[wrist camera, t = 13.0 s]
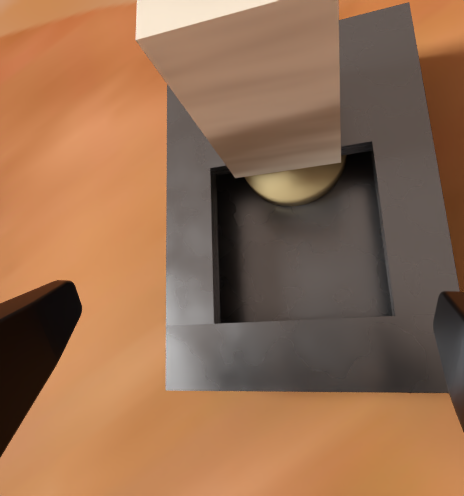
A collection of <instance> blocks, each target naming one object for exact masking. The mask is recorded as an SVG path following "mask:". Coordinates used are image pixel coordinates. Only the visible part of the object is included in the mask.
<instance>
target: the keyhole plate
mask: <svg viewBox="0 0 464 496" xmlns="http://www.w3.org/2000/svg"><path fill="white" fill-rule="evenodd" d="M339 66H340V129H341V156H342V155H347V157H346V164H345V168H344V170H343V173H342V175H341V177H340V178H339V180H338V181H337V183H336V184H335V185H334V187H333V188H332V189H331V190H330V191H329V192H327V193H326V194H325V195H323V196H322V197H320V198H319V199H317V200H315V201H312V202H310V203H307V204H304V205H299V206H281V205H276V204H273V203H270V202H268V201H266V200H264V199H263V198H261V197H260V196H259V195H257V194H256V193H255V192H254V190H253V189H252V188H251V187H250V185H249V184H248V182H247V181H246V179H245V177H240V178H235V177H234V176H233V174H232V173H231V172H230V170H229V169H228V167H227V166H226V165H225V163H224V162H223V160H222V159H221V158H220V156H219V155H218V154H217V152H216V151H215V149H214V148H213V147H212V145H211V144H210V142H209V141H208V140H207V138H206V137H205V136H204V134H203V133H202V131H201V130H200V129H199V127H198V126H197V124H196V123H195V122H194V120H193V119H192V117H191V116H190V115H189V113H188V112H187V111H186V109H185V108H184V106H183V105H182V104H181V102H180V101H179V99H178V98H177V97H176V95H175V94H174V93H173V91H172V90H171V88H170V87H169V86H168V84H167V237H166V390H178V391H290V392H402V393H449V391H448V387H447V384H446V379H445V375H444V371H443V367H442V363H441V359H440V355H439V351H438V347H437V343H436V339H435V335H434V330H433V320H434V315H435V311H436V306H437V301H438V296H439V294H440V293H441V292H443V291H459V292H460V290H459V285H458V279H457V273H456V268H455V262H454V256H453V250H452V245H451V239H450V233H449V228H448V222H447V216H446V211H445V205H444V199H443V193H442V188H441V182H440V176H439V171H438V165H437V159H436V153H435V148H434V142H433V136H432V131H431V125H430V119H429V113H428V108H427V102H426V96H425V91H424V85H423V79H422V73H421V68H420V62H419V56H418V51H417V45H416V39H415V33H414V28H413V22H412V16H411V11H410V5H409V2H408V3H404V4H401V5H397V6H393V7H389V8H385V9H381V10H377V11H373V12H369V13H365V14H362V15H358V16H354V17H350V18H346V19H342V20H339Z"/></svg>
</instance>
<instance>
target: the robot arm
mask: <svg viewBox="0 0 464 496" xmlns="http://www.w3.org/2000/svg"><path fill="white" fill-rule="evenodd" d="M81 313H82V305H81V302H80V299H79V296H78V293H77V290H76V287H75V285H74V283H73V282H71V281H65V280H57V281H54V282H51V283H49V284H46V285H44V286H41V287H39V288H37V289H34V290H32V291H29V292H27V293H25V294H22V295H20V296H17V297H15V298H12V299H10V300H8V301H5V302H3V303H0V457H1V456H2V454H3V452H4V451H5V449H6V448H7V446H8V444H9V443H10V441H11V439H12V438H13V436H14V434H15V433H16V431H17V429H18V428H19V426H20V424H21V423H22V421H23V419H24V418H25V416H26V415H27V413H28V411H29V410H30V408H31V406H32V405H33V403H34V401H35V400H36V398H37V396H38V395H39V393H40V391H41V390H42V388H43V387H44V385H45V383H46V382H47V380H48V378H49V377H50V375H51V373H52V372H53V370H54V368H55V367H56V365H57V363H58V361H59V359H60V357H61V355H62V353H63V351H64V349H65V347H66V345H67V343H68V341H69V339H70V337H71V334H72V332H73V330H74V328H75V326H76V324H77V322H78V320H79V318H80V316H81ZM433 330H434V335H435V339H436V343H437V347H438V351H439V355H440V359H441V363H442V367H443V371H444V375H445V379H446V384H447V387H448V391H449V394H450V397H451V400H452V403H453V406H454V408H455V411H456V414H457V416H458V419H459V421H460V424H461V427H462V429H463V432H464V293H463V292H459V291H443V292H441V293H440V294H439V296H438V301H437V306H436V311H435V315H434V320H433Z"/></svg>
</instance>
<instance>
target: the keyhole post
mask: <svg viewBox="0 0 464 496" xmlns="http://www.w3.org/2000/svg"><path fill="white" fill-rule="evenodd" d="M136 41H137V43H138V44H139V45H140V47H141V48H142V50H143V51H144V52H145V54H146V55H147V56H148V58H149V59H150V61H151V62H152V63H153V65H154V66H155V68H156V69H157V70H158V72H159V73H160V75H161V76H162V77H163V79H164V80H165V81H166V83H167V84H168V86H169V87H170V88H171V90H172V91H173V93H174V94H175V95H176V97H177V98H178V99H179V101H180V102H181V104H182V105H183V106H184V108H185V109H186V111H187V112H188V113H189V115H190V116H191V117H192V119H193V120H194V122H195V123H196V124H197V126H198V127H199V129H200V130H201V131H202V133H203V134H204V136H205V137H206V138H207V140H208V141H209V142H210V144H211V145H212V147H213V148H214V149H215V151H216V152H217V154H218V155H219V156H220V158H221V159H222V160H223V162H224V163H225V165H226V166H227V167H228V169H229V170H230V172H231V173H232V174H233V176H234V177H235V178H240V177H245V179H246V181H247V182H248V184H249V185H250V187H251V188H252V189H253V190H254V192H255V193H256V194H257V195H259V196H260V197H261V198H263V199H264V200H266V201H268V202H270V203H273V204H276V205H281V206H299V205H304V204H307V203H310V202H312V201H315V200H317V199H319V198H320V197H322V196H323V195H325V194H326V193H327V192H329V191H330V190H331V189H332V188H333V187H334V185H335V184H336V183H337V181H338V180H339V178H340V177H341V175H342V173H343V170H344V168H345V164H346V157H347V155H342V156H341V129H340V66H339V3H338V0H137V17H136Z"/></svg>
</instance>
